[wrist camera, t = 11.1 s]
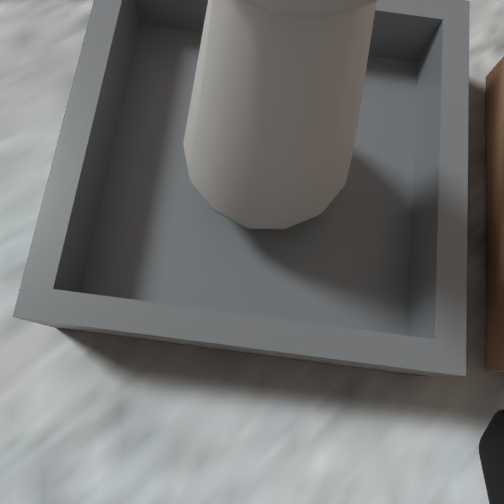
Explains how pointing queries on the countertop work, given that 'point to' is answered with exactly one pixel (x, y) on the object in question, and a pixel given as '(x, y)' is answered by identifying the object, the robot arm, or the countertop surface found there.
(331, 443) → the countertop surface
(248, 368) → the countertop surface
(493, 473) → the robot arm
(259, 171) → the salt shaker
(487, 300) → the socket block
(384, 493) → the countertop surface
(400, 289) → the tray
